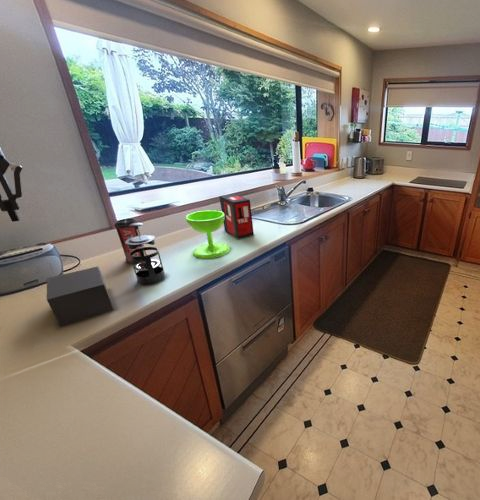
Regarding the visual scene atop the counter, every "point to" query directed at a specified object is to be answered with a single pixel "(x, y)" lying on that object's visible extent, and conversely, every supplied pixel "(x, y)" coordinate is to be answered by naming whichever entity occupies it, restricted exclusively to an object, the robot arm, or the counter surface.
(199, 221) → the wineglass
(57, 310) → the cabinet
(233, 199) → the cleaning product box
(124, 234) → the red canister
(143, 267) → the french press
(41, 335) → the counter surface
